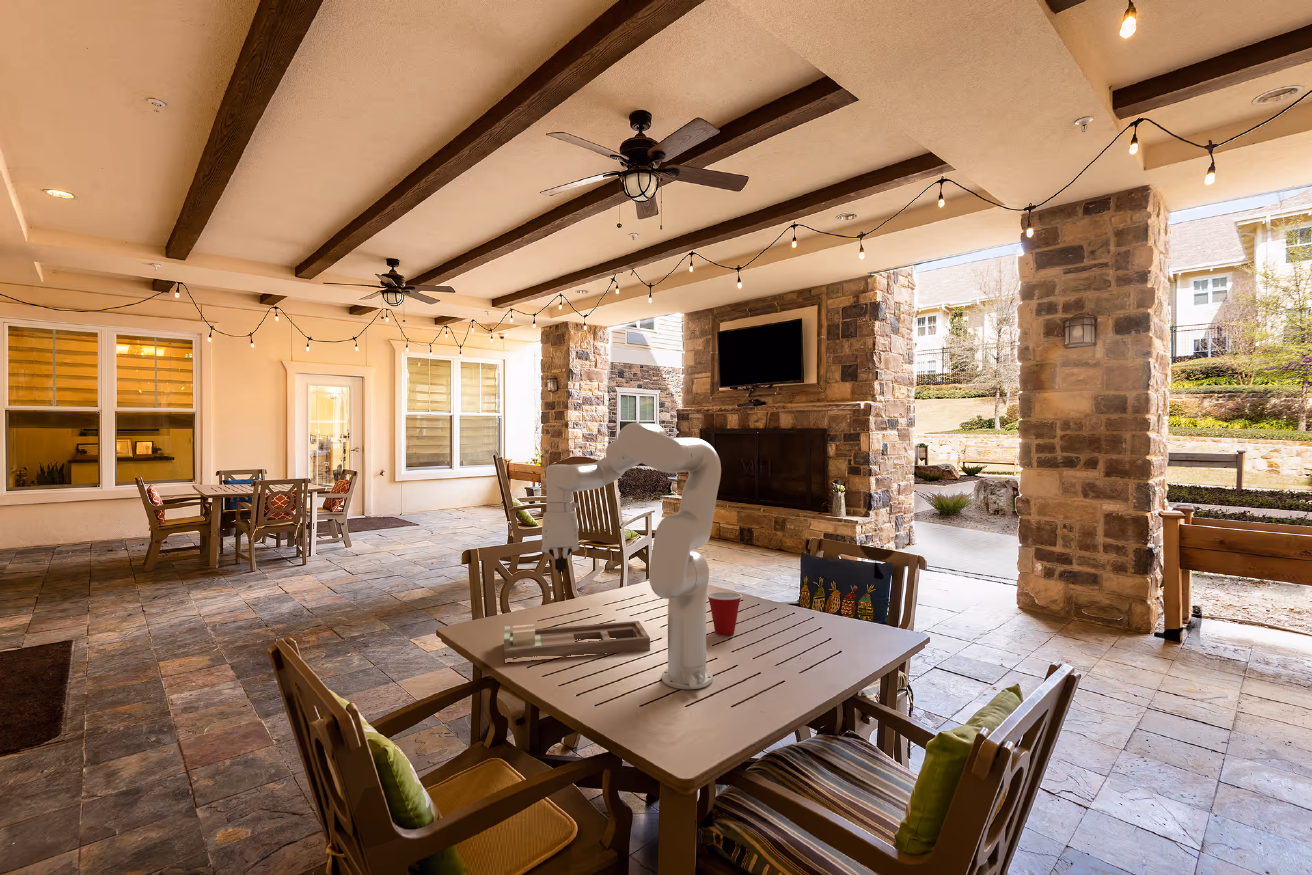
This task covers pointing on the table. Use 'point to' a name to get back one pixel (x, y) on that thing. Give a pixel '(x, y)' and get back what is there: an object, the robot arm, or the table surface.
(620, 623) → the tray
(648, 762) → the table surface
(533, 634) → the maple block
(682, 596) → the robot arm
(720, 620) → the plastic cup
